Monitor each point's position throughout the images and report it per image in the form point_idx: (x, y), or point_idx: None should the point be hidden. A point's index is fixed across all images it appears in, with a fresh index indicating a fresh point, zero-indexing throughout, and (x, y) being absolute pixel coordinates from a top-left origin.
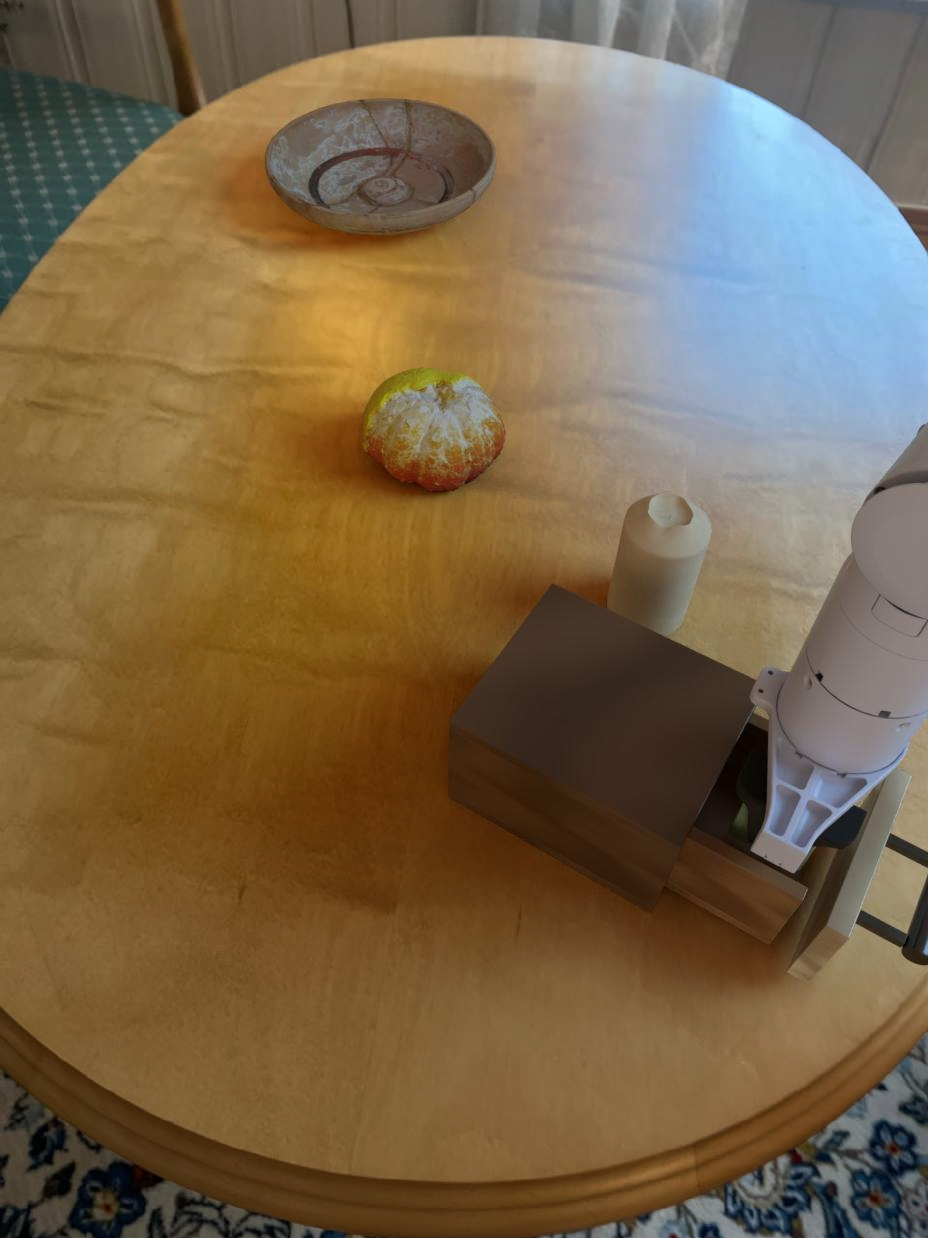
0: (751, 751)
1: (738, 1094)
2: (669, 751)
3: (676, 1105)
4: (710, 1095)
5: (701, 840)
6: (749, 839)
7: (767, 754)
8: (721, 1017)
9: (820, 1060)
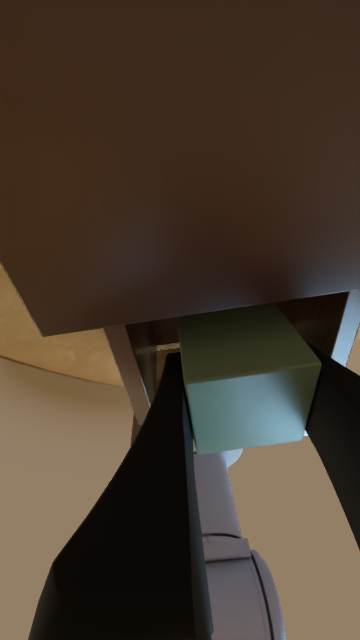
0: (176, 634)
1: (52, 360)
2: (199, 205)
3: (7, 339)
4: (35, 350)
5: (109, 327)
6: (165, 360)
7: (289, 365)
8: (82, 331)
9: (113, 380)
